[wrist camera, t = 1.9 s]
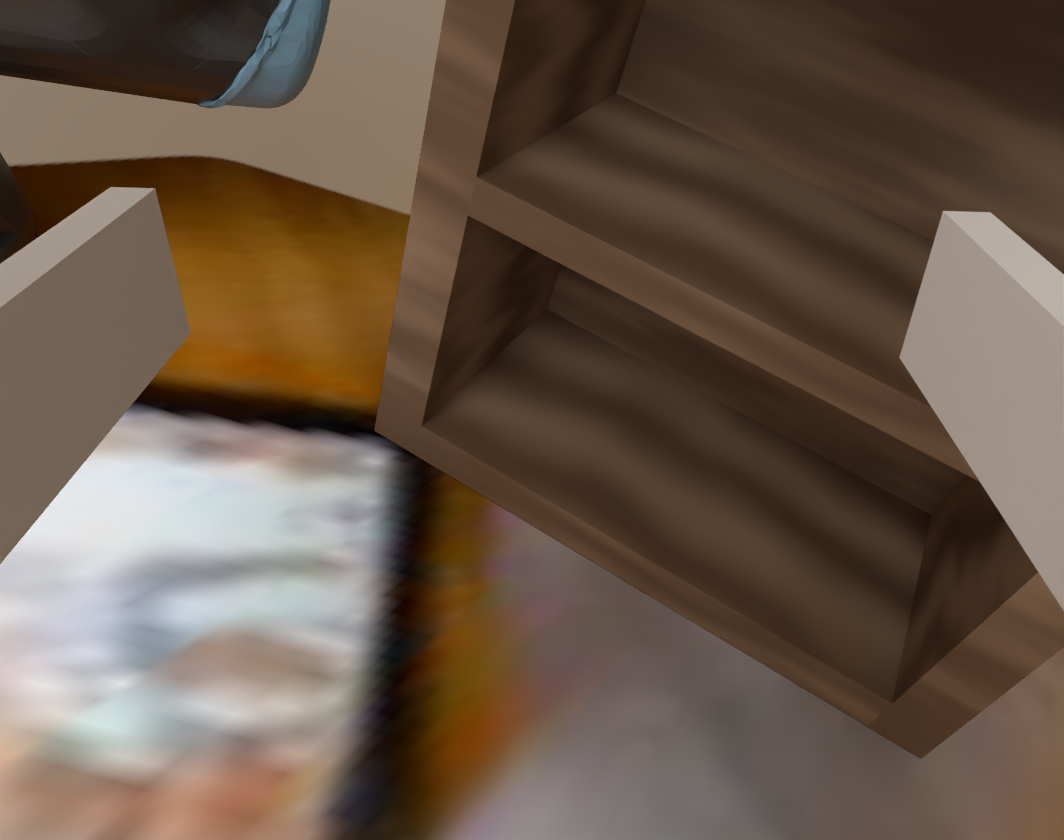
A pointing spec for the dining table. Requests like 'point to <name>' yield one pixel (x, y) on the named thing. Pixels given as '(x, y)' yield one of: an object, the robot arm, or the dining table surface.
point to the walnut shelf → (735, 317)
